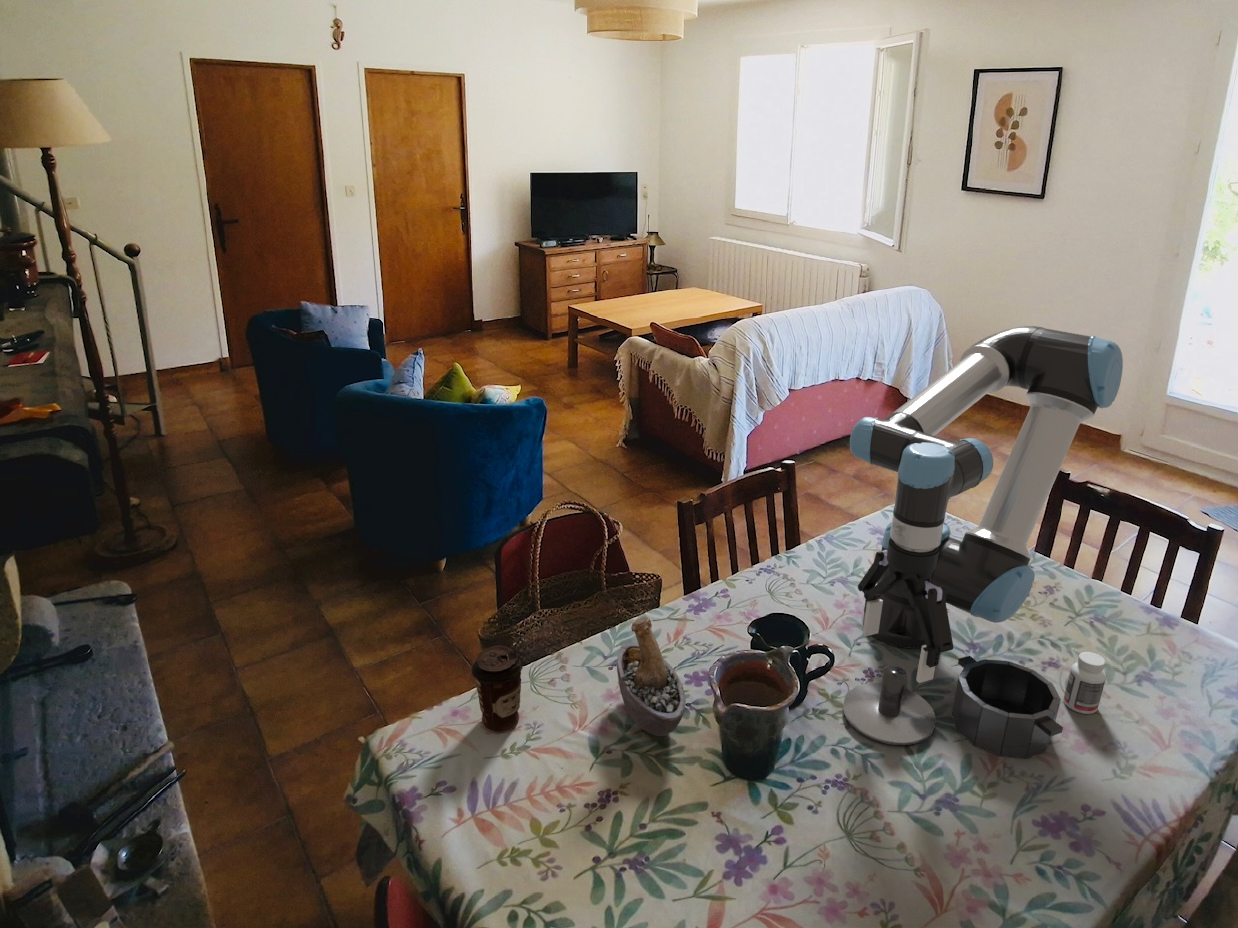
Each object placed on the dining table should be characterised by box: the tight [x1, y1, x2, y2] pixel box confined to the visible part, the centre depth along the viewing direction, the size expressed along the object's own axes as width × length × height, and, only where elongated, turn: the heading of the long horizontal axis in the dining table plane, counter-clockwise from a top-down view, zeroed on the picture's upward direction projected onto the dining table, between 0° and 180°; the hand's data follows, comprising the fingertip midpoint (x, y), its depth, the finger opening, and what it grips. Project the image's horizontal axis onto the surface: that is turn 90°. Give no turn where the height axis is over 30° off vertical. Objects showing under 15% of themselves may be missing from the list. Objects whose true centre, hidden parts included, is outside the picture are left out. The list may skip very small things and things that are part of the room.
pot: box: [951, 655, 1064, 760], centre depth 140 cm, size 20×15×8 cm
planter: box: [616, 616, 687, 737], centre depth 140 cm, size 15×17×20 cm
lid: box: [842, 664, 936, 746], centre depth 142 cm, size 15×15×10 cm
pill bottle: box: [1063, 651, 1107, 715], centre depth 145 cm, size 5×5×10 cm
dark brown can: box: [471, 644, 524, 734], centre depth 141 cm, size 9×8×13 cm
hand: (896, 655), depth 139 cm, fingers open, 13 cm apart
